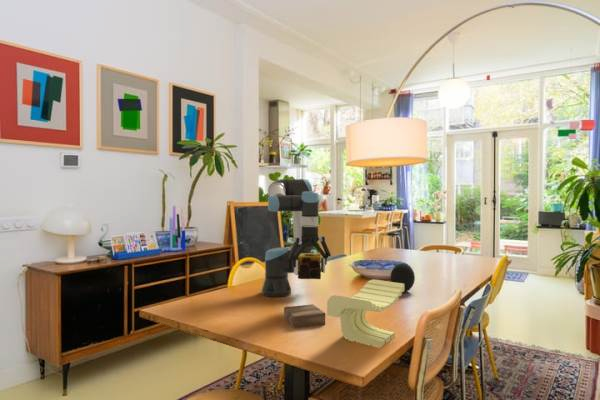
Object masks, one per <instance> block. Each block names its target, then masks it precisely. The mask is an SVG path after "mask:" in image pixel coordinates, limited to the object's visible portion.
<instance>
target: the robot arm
mask: <svg viewBox="0 0 600 400" xmlns="http://www.w3.org/2000/svg"><path fill="white" fill-rule="evenodd" d="M267 194H268V198H267V210H268V211H269V212H274V213H276V212H292V227H293V228H292V229H293V245H292V246H291V249H290V250H289V249H288V247H286V246H285V247H282V246H281V247H280V246H279V247H275V248H270V249H268V250H267V251H265V258H264V263H265V269H264V271H265V272H264V273H265V275H264V276H265V279H264V281H263V285H262V288H261V295H262V296H264V297H271V298H279V297H280V298H281V297H287V296H290V295H291V294H292V287H291V285H290V281H289V278H288V277H289V274H294V275H295V276H298V268H299V265H298V264H299V260H298V256H299V255H300V254H301V253H320V256H321V257H320V262H321V263H320V265H321V273H324V274H325V273H326V266H327V264H328V262H327V261H328V258H329V257H331V252H330V250H329V247H328V245H327V242H326V239H325V236H324V235H320V236H319V227H318V225H319V201H320V198H319V192H318V191H313V187H312V183H311V181H310V180H309V179H304V178H300V179H298V178H297V179H295V178H293V179H292V178H288V179H287V178H281V179H277V180H275V181H273V182H271V184H269V186H268V188H267ZM318 242H320V244H321V246H322V247H321V246H320V244H319V243H318ZM314 248H315V249H314Z"/></svg>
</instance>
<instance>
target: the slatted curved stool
mask: <svg viewBox="0 0 600 400" xmlns="http://www.w3.org/2000/svg"><path fill="white" fill-rule="evenodd" d="M403 293H405V292H404V284H403V283H396V282H391V281H386V280H381V279H373V278H372V279H370V280H368V281H366V282H365V284H364V285H363V286H362V287H361V289H360V290H358V292H357V293H356V294H354V295H353V296H351V297H349V296H342V295H337V294H333V295H331V296H330V297H329V298H328V299H327V303H326V316H328V317H333V318H336V319H337V318H338V319H340V329H341V330H340V331H341V333H342V336H343V337H344V339H346V340H347V339H348V340H347V341H350V340H352V341H351V342H354V341H356V342H355V343H358V342H360V343H359V344H362V343H364V344H363V345H366V344H369V345H368V346H370V345H373V346H372V347H374V346H377V347H376V348H378V347H381V348H382V346H383V345H384V344H385V343H387V342H388V343H389V342H391V340H390V339H392V340H394V338H396V334H395V332H394V331H390V330H386V329H382V328H380V327H377V326H373V325H372V324H371V323H369V322H368V321H367V319H366V313H367V312H368V311H369V312H370V311H371V312H378V313H382V312H384V311H386V310H387V309H389V308H391V307H392V306H394V305H395V304H396V303H397V301H399V299H400V297H402V294H403ZM388 343H387V344H388ZM385 345H386V344H385ZM385 345H384V346H385ZM384 346H383V347H384Z"/></svg>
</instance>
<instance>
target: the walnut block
mask: <svg viewBox="0 0 600 400" xmlns="http://www.w3.org/2000/svg"><path fill="white" fill-rule="evenodd" d="M283 319H284V320H285V321H286V322H287V323H288V324H289V325H290V326H291V327H292V328H293V329H301V328H308V327H309V328H310V327H317V326H325V325H326V312H324V311H323V310H321V309H320V307H318V306H317V305H315V304H313V303H312V304H303V305H295V306H293V305H291V306H284V307H283Z"/></svg>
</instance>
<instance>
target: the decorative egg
mask: <svg viewBox="0 0 600 400" xmlns="http://www.w3.org/2000/svg"><path fill="white" fill-rule="evenodd" d="M415 277H416V276H415V272H414V269H413V268H412V267H411V266H410V265H409V264H407V263H404V262H401V263H397V264H396V265H395V266H394V267H393V268H392V269H391V272H390V282H396V283H403V284H404V292H403V293H406V292H409V291H410V290H411V289H412V287H413V286H414V285H415V280H416V279H415Z"/></svg>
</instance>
